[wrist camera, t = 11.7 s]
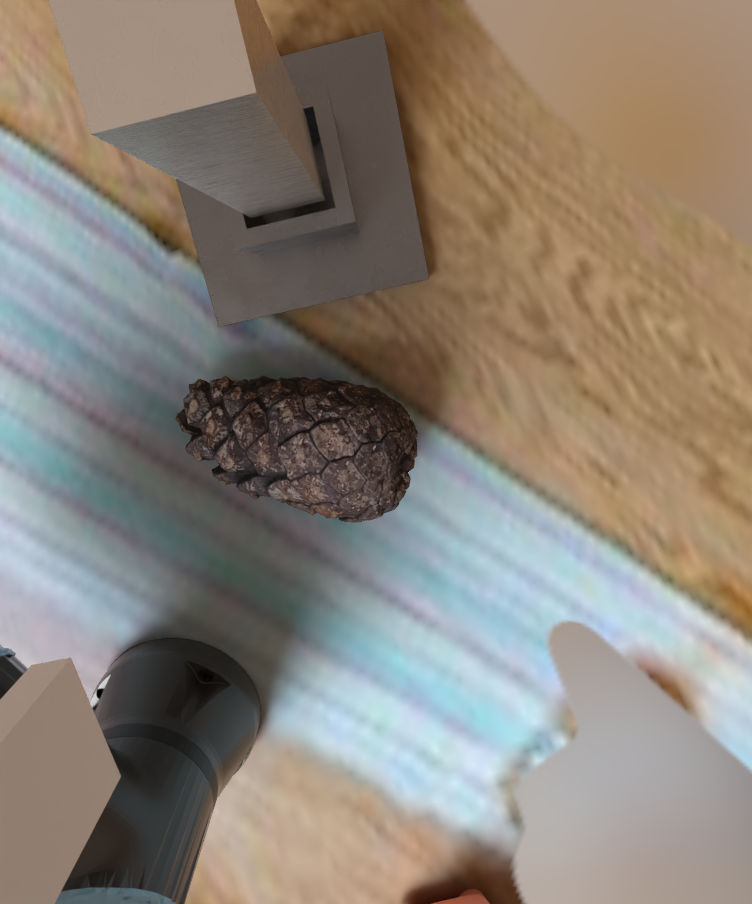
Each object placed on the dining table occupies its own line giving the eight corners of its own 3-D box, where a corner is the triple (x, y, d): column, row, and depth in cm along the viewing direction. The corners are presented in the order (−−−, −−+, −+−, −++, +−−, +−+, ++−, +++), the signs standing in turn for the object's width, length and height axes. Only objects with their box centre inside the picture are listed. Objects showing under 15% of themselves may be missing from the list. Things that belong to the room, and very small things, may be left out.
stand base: (223, 325, 45) (117, 353, 26) (158, 96, 40) (-23, -59, 22) (427, 279, 44) (462, 275, 25) (382, 39, 39) (386, -172, 21)
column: (251, 217, 34) (91, 134, 15) (226, 122, 33) (15, -104, 14) (324, 200, 34) (256, 92, 15) (303, 102, 33) (196, -155, 14)
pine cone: (193, 361, 46) (144, 381, 36) (418, 375, 46) (429, 400, 36) (196, 485, 49) (151, 535, 39) (408, 498, 49) (415, 551, 39)
